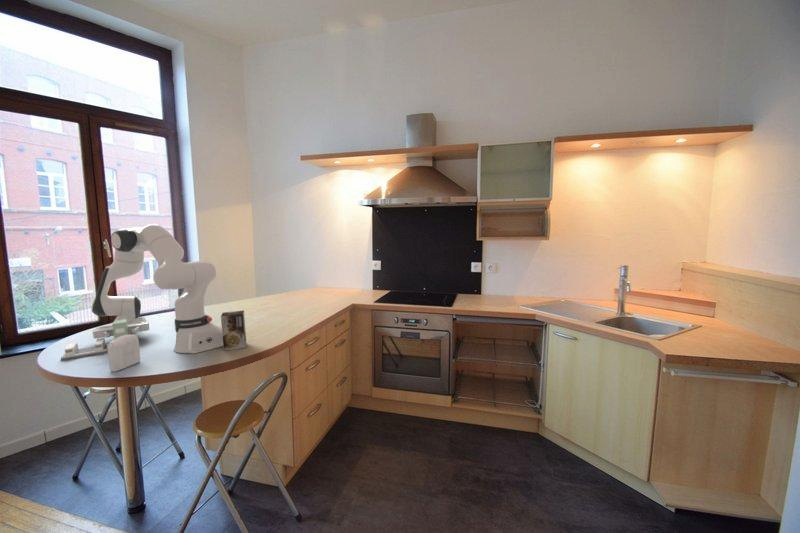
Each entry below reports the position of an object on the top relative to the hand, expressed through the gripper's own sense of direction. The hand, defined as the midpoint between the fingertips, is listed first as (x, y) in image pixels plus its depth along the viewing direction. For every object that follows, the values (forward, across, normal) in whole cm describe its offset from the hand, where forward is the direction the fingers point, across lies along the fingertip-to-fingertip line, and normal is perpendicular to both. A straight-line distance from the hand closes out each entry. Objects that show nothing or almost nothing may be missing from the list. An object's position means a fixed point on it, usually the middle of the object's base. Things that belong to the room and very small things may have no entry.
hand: (121, 333), depth 147 cm
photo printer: (+28, +3, +7) cm, 29 cm away
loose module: (-1, 0, +7) cm, 7 cm away
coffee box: (+32, +41, +7) cm, 53 cm away
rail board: (-1, -12, +6) cm, 14 cm away
